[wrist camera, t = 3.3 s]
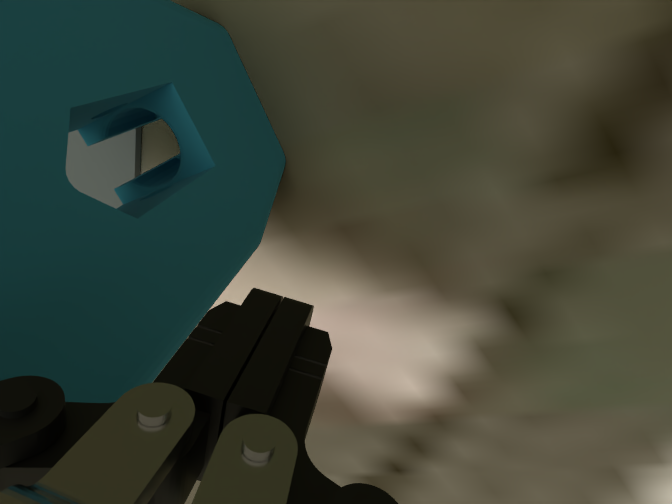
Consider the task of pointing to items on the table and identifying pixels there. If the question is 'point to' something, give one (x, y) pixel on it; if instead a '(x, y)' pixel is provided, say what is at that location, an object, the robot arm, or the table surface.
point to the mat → (103, 164)
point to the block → (121, 188)
